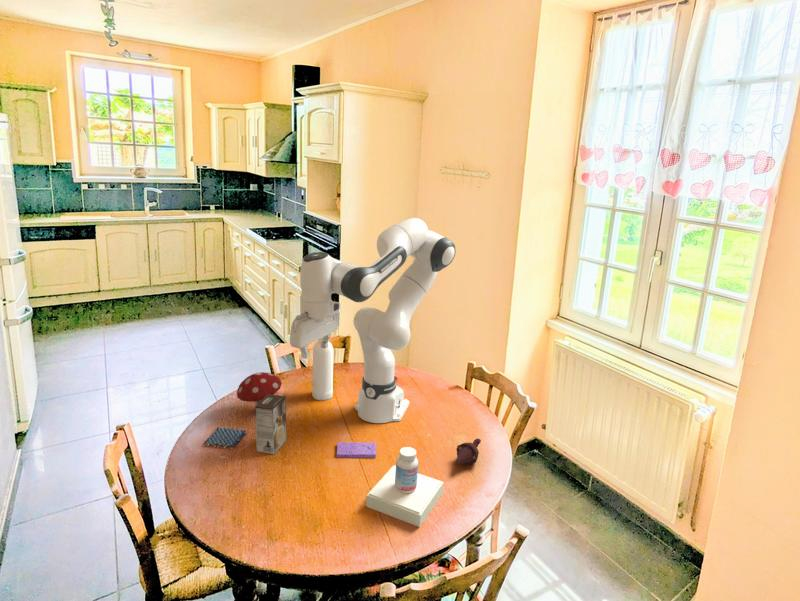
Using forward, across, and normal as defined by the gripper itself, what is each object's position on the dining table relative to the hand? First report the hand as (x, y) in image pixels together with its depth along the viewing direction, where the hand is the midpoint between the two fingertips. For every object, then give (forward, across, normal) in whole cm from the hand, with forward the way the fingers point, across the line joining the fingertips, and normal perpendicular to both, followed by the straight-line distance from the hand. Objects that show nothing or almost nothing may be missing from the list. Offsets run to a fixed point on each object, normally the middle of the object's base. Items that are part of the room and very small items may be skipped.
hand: (315, 352), depth 152 cm
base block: (+34, -6, -35) cm, 49 cm away
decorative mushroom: (+34, +11, +32) cm, 48 cm away
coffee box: (+34, -4, +14) cm, 37 cm away
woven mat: (+35, -9, +29) cm, 46 cm away
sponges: (+35, +7, -11) cm, 37 cm away
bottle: (+34, +33, +20) cm, 52 cm away
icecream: (+34, +20, -44) cm, 59 cm away
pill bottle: (+30, -6, -35) cm, 47 cm away
